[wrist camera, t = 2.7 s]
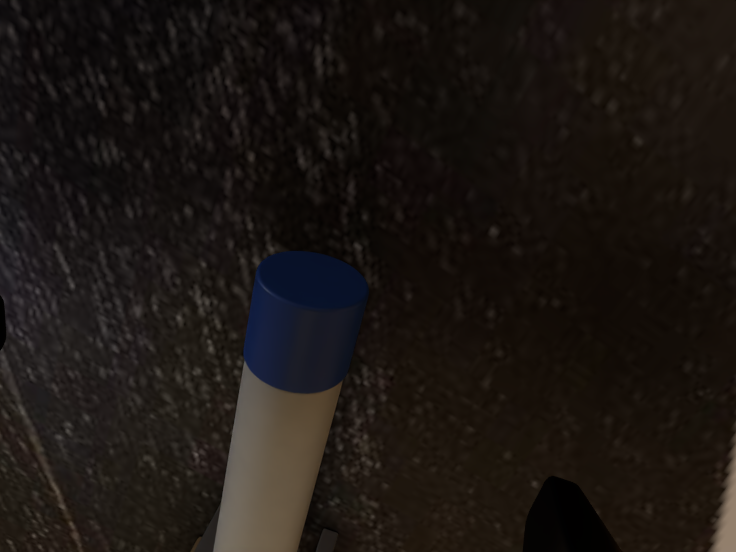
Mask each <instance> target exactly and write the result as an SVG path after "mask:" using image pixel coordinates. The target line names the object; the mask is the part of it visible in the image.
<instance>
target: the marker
mask: <svg viewBox="0 0 736 552" xmlns="http://www.w3.org/2000/svg"><path fill="white" fill-rule="evenodd" d="M368 296H369V288H368V284H367V282H366V280H365V278H364V277H363V276H362V275H361V273H359V272H358V271H357V270H356V269H355V268H353V267H352V266H350V265H348V264H347V263H345V262H343V261H341V260H338V259H336V258H333V257H330V256H327V255H323V254H319V253H314V252H306V251H287V252H281V253H277V254H273V255H271V256H269V257H267V258H266V259H264V260H263V261H262V262H261V263H260V265H259V266H258V268H257V270H256V276H255V282H254V288H253V294H252V301H251V307H250V313H249V319H248V325H247V332H246V338H245V344H244V351H243V354H244V359H245V360H244V366H243V372H242V378H241V385H240V391H239V397H238V403H237V409H236V415H235V421H234V427H233V433H232V439H231V446H230V452H229V458H228V464H227V470H226V476H225V482H224V488H223V494H222V501H221V507H220V513H219V519H218V525H217V531H216V537H215V543H214V549H213V552H297V550H298V546H299V543H300V539H301V535H302V532H303V528H304V524H305V520H306V517H307V513H308V509H309V505H310V502H311V498H312V494H313V491H314V487H315V483H316V479H317V476H318V472H319V468H320V464H321V461H322V457H323V453H324V450H325V446H326V442H327V438H328V435H329V431H330V427H331V423H332V420H333V416H334V412H335V409H336V405H337V401H338V397H339V394H340V390H341V386H342V382H343V379H344V378H345V377H346V375H347V373H348V370H349V366H350V362H351V359H352V355H353V351H354V348H355V344H356V340H357V337H358V333H359V329H360V325H361V322H362V318H363V314H364V311H365V307H366V303H367V300H368Z"/></svg>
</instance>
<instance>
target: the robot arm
mask: <svg viewBox="0 0 736 552" xmlns="http://www.w3.org/2000/svg"><path fill="white" fill-rule="evenodd" d="M5 340H6V323H5V309H4V300H3V299H2V297H1V296H0V350H1V349H2V347H3V345H4V343H5ZM523 552H622V551H621V549H620V548H619V546H618V545H617V543H616V541H615V540H614V538H613V537H612V535H611V534H610V532H609V531H608V529H607V528H606V526H605V525H604V523H603V522H602V520H601V519H600V517H599V516H598V514H597V513H596V511H595V510H594V508H593V507H592V505H591V504H590V502H589V501H588V499H587V498H586V496H585V495H584V493H583V492H582V490H581V489H580V487H579V486H578V485H577V484H575V483H573V482H571V481H568V480H565V479H561V478H558V477H555V476H551V477H549V478H548V479H547V480H546V481H545V482H544V484H543V486H542V488H541V490H540V492H539V494H538V495H537V497H536V499H535V501H534V503H533V505H532V507H531V509H530V511H529V513H528V516H527V520H526V524H525V533H524V544H523Z"/></svg>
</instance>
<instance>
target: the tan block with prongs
mask: <svg viewBox="0 0 736 552" xmlns="http://www.w3.org/2000/svg"><path fill="white" fill-rule="evenodd" d="M220 507H221V503H220V505H219V507H218V509H217V511H216V513H215V514H214V516H213V518H212V520H211V522H210V523H209V525H208V527H207V529H206V531H205V533H204V534H203V536H202V537H199V538H198V539H197V540H196V542H195V544H194V546H193V548H192V549H191V551H190V552H213V549H214V543H215V537H216V531H217V525H218V519H219V513H220ZM337 538H338V533H336V532H333V531H330V530H327V529H323V531H322V534H321V537H320V540H319V543H318V546H317V549H316V552H334V548H335V545H336V542H337Z"/></svg>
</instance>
